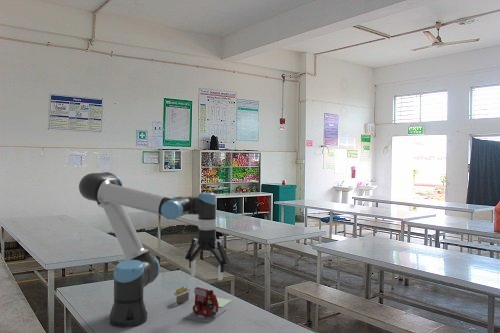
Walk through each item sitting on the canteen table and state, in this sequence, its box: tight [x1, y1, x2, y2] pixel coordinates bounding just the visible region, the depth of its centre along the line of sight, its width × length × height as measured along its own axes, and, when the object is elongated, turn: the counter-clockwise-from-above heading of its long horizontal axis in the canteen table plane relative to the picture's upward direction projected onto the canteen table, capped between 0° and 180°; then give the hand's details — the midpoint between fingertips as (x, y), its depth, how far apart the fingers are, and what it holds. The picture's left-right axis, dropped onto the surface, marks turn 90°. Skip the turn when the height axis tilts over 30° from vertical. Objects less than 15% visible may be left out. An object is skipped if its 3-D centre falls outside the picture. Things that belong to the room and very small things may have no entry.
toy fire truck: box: [192, 286, 219, 317], centre depth 176 cm, size 7×12×10 cm, turn 57°
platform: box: [173, 286, 192, 305], centre depth 191 cm, size 12×18×7 cm, turn 150°
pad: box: [216, 297, 233, 309], centre depth 190 cm, size 10×10×1 cm
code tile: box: [183, 307, 227, 324], centre depth 176 cm, size 16×12×1 cm
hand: (206, 277), depth 175 cm, fingers open, 13 cm apart
